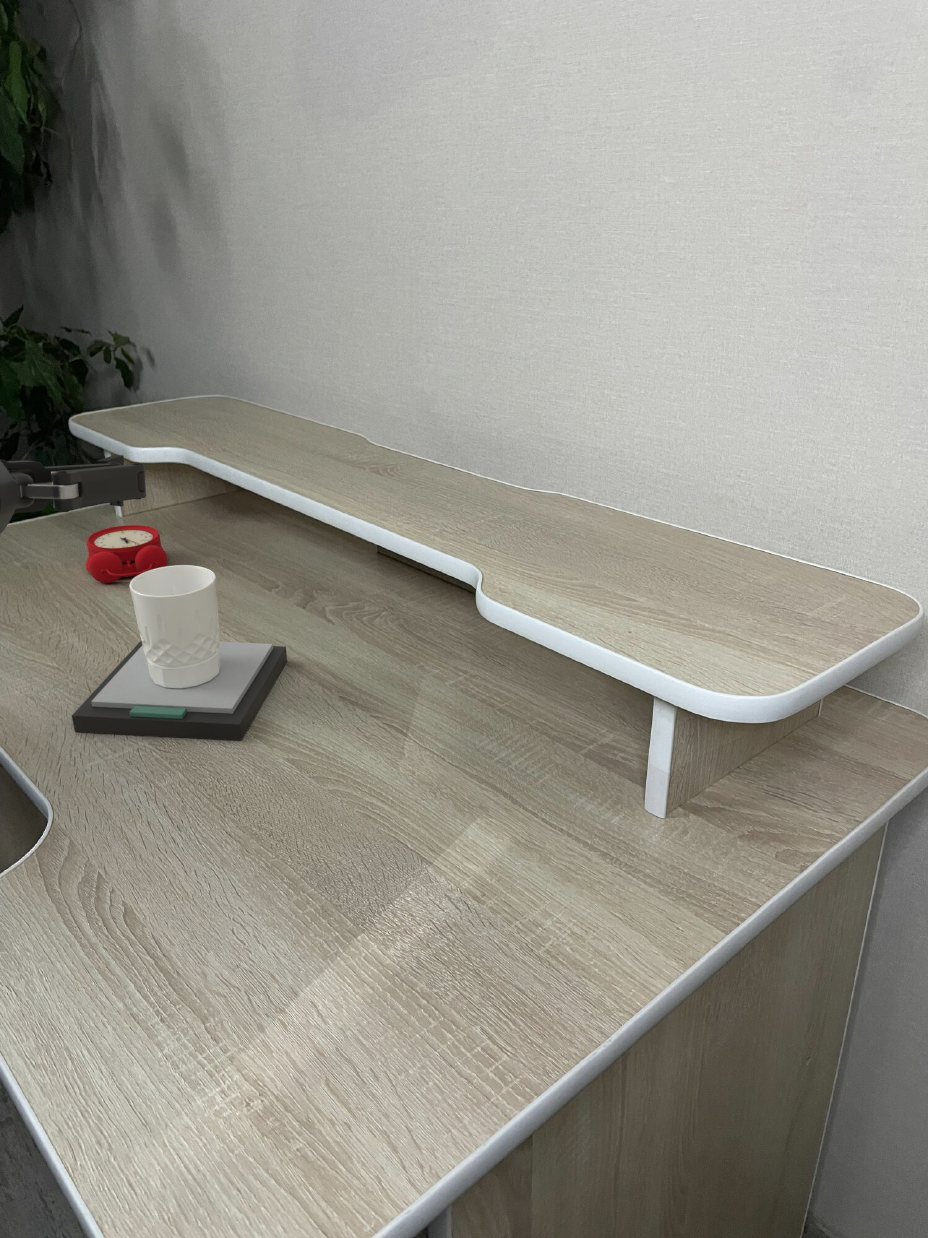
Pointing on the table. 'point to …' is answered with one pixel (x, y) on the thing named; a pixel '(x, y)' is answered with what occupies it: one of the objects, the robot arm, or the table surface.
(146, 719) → the scale
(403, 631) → the table surface
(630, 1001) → the table surface
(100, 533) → the alarm clock
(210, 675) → the white cup
